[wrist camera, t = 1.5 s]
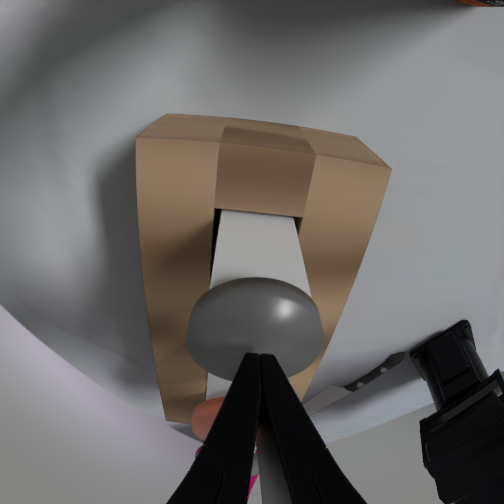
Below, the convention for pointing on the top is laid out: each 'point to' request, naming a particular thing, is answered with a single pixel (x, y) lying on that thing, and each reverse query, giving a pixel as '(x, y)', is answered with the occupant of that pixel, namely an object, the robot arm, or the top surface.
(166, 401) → the socket board
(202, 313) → the plug
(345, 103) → the top surface
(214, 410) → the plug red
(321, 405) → the chef's knife
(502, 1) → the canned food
